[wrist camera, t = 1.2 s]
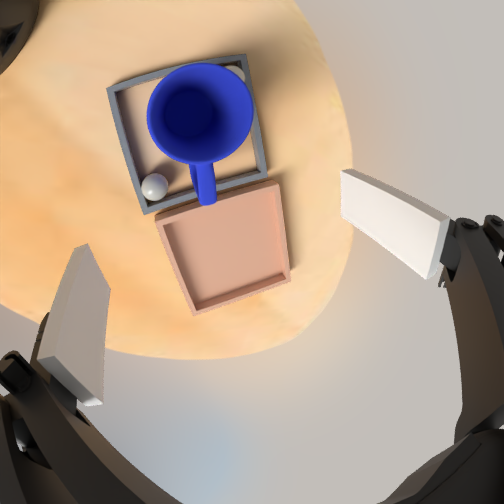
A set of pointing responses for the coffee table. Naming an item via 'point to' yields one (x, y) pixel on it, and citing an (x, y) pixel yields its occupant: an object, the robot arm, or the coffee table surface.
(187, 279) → the terracotta dish
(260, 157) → the slate bin
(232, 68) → the pebble
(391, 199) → the robot arm
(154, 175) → the pebble
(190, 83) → the mug
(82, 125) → the coffee table surface
